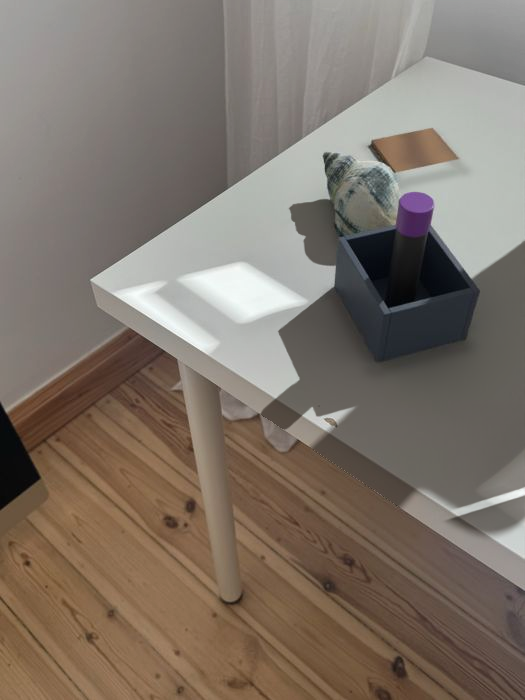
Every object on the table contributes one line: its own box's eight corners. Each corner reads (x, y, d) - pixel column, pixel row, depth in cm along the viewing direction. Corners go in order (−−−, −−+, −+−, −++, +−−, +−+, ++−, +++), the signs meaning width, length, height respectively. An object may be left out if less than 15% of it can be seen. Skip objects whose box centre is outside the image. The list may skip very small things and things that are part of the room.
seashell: (348, 269, 75) (333, 196, 82) (418, 242, 73) (396, 169, 80) (325, 227, 70) (311, 153, 78) (399, 196, 68) (377, 124, 76)
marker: (405, 297, 69) (425, 188, 59) (418, 318, 67) (440, 208, 58) (377, 304, 68) (393, 195, 59) (390, 325, 67) (408, 216, 57)
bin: (415, 270, 72) (425, 217, 67) (465, 343, 66) (480, 290, 61) (333, 290, 71) (337, 237, 66) (376, 367, 64) (384, 314, 59)
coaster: (431, 131, 88) (432, 127, 88) (463, 167, 83) (464, 164, 83) (370, 143, 87) (371, 139, 86) (399, 181, 82) (399, 177, 81)
